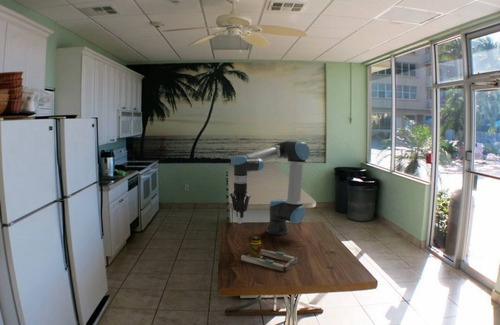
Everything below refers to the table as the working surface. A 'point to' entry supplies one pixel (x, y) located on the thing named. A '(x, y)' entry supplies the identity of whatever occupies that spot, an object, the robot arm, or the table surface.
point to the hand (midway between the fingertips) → (239, 222)
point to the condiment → (255, 247)
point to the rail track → (271, 263)
